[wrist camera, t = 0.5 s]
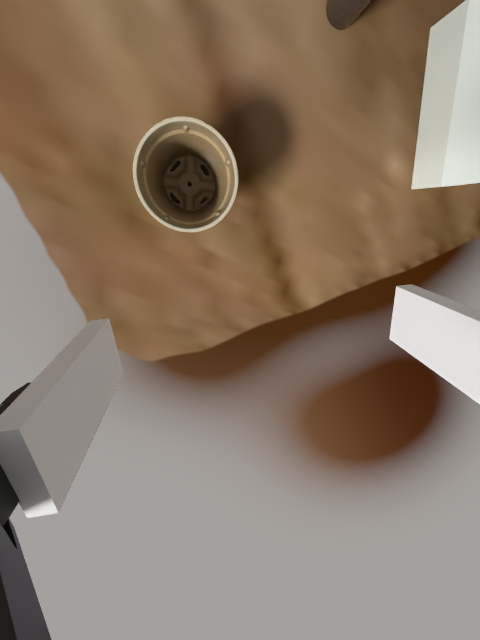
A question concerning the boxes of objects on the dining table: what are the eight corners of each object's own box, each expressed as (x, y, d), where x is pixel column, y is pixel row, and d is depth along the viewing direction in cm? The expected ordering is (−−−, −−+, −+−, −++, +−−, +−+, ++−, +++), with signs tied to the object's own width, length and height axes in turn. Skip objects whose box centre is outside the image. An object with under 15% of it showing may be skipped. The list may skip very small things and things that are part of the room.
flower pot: (243, 165, 34) (256, 152, 26) (210, 239, 37) (213, 248, 29) (167, 120, 32) (155, 92, 24) (138, 204, 34) (118, 203, 26)
